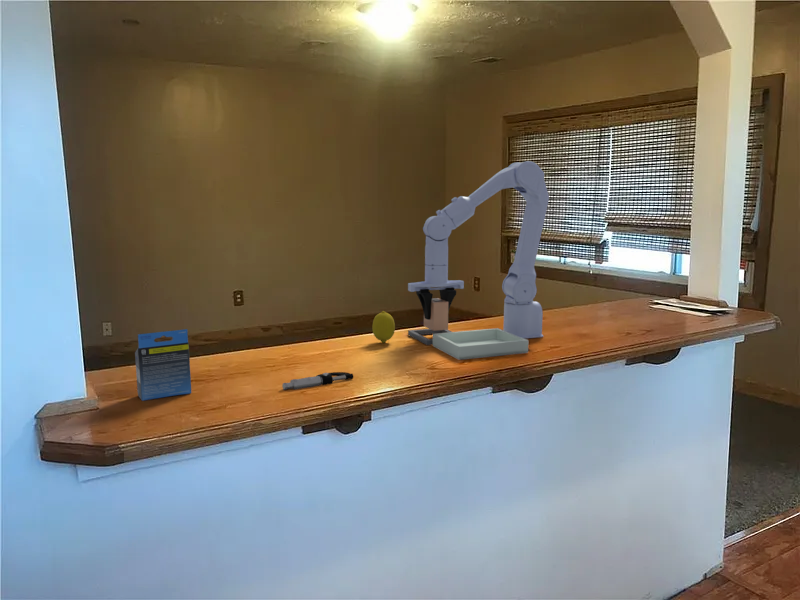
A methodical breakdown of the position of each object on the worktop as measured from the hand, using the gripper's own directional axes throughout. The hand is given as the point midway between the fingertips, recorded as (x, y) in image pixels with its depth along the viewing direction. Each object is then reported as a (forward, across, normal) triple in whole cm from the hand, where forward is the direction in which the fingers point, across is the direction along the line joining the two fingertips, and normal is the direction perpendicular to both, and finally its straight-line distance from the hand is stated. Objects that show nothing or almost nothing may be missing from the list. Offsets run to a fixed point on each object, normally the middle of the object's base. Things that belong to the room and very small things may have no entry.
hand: (435, 318), depth 168 cm
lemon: (+5, +14, 0) cm, 15 cm away
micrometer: (+6, +38, +25) cm, 46 cm away
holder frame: (+5, 0, 0) cm, 5 cm away
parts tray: (+5, -5, +14) cm, 16 cm away
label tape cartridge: (+5, +66, +24) cm, 71 cm away
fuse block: (+2, 0, 0) cm, 2 cm away
